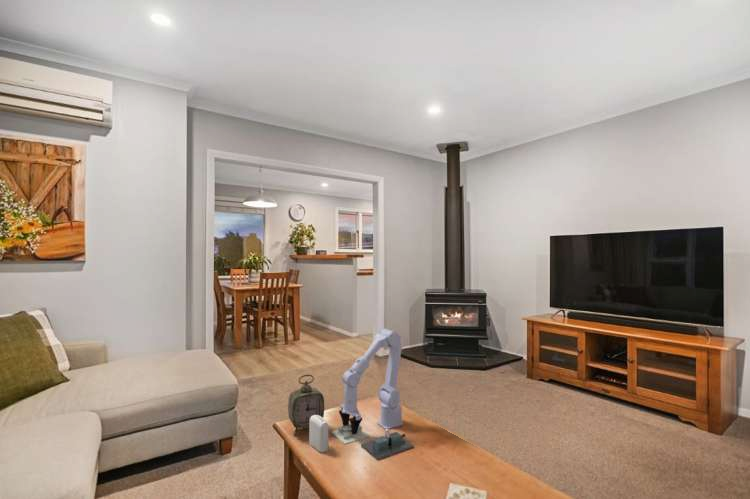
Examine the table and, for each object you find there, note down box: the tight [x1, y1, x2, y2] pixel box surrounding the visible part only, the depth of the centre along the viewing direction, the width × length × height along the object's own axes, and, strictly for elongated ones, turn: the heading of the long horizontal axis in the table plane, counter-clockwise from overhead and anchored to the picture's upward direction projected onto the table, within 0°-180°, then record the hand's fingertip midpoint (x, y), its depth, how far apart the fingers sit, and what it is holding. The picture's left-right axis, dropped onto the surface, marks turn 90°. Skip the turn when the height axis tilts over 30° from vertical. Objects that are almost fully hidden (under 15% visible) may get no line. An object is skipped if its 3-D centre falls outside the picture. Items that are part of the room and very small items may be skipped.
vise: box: [360, 428, 415, 461], centre depth 155 cm, size 18×12×8 cm, turn 124°
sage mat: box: [331, 429, 370, 445], centre depth 165 cm, size 12×12×1 cm
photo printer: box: [308, 415, 329, 453], centre depth 155 cm, size 10×4×12 cm, turn 39°
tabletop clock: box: [287, 373, 325, 436], centre depth 168 cm, size 14×9×25 cm, turn 117°
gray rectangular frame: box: [337, 423, 363, 439], centre depth 165 cm, size 9×5×3 cm, turn 125°
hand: (350, 430), depth 165 cm, fingers open, 7 cm apart
